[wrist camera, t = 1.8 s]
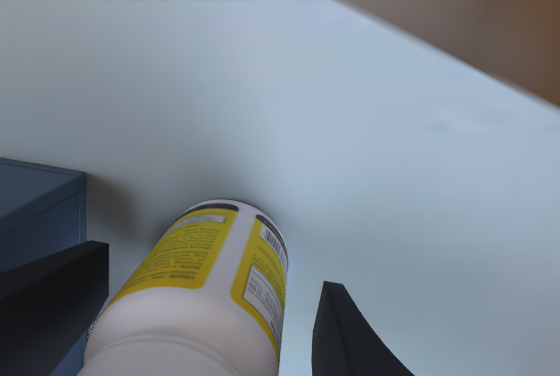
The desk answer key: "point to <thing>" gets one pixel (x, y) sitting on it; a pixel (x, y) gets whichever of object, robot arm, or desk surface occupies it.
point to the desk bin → (42, 224)
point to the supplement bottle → (199, 301)
